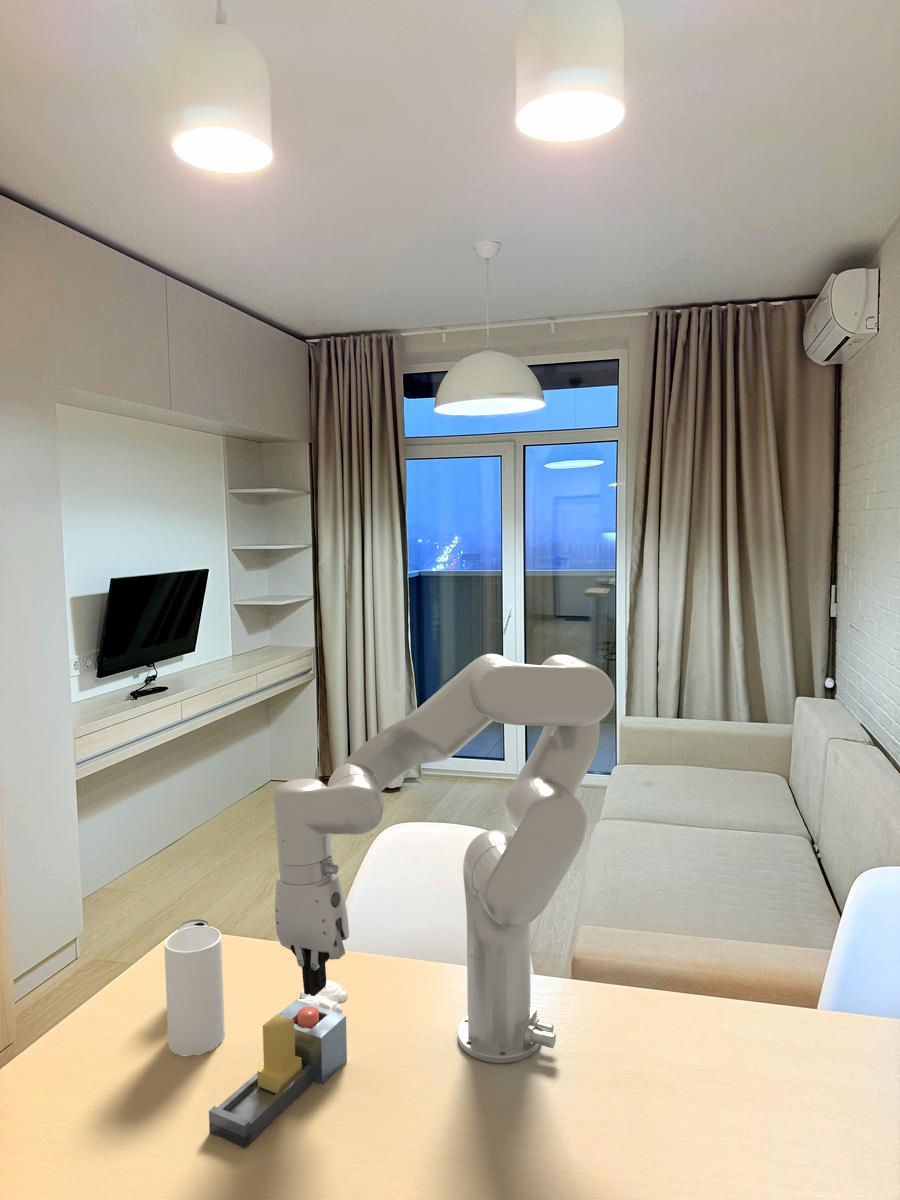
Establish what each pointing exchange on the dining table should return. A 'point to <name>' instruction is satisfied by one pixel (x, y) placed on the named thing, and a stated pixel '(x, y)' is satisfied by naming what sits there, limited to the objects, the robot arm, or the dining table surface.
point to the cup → (194, 990)
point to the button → (308, 1017)
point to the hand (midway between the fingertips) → (315, 990)
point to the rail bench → (260, 1107)
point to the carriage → (278, 1054)
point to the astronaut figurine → (326, 997)
